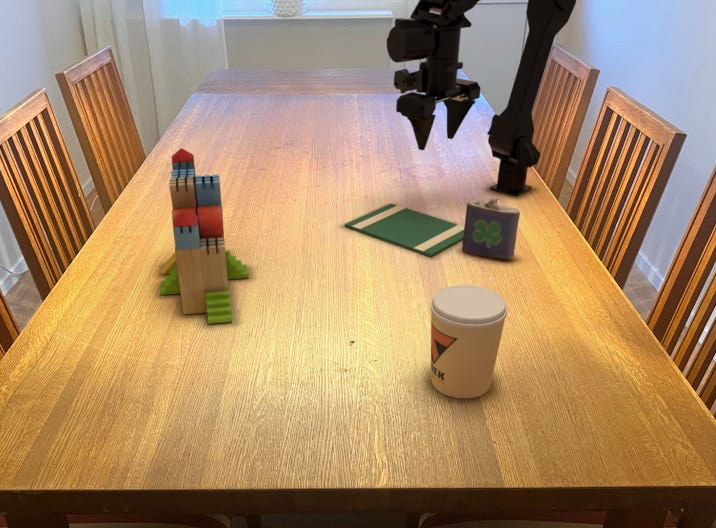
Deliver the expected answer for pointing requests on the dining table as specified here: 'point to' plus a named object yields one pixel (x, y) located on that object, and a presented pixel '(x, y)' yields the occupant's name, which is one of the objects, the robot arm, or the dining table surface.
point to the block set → (199, 244)
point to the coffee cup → (465, 339)
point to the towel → (409, 229)
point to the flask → (490, 230)
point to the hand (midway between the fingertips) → (436, 144)
